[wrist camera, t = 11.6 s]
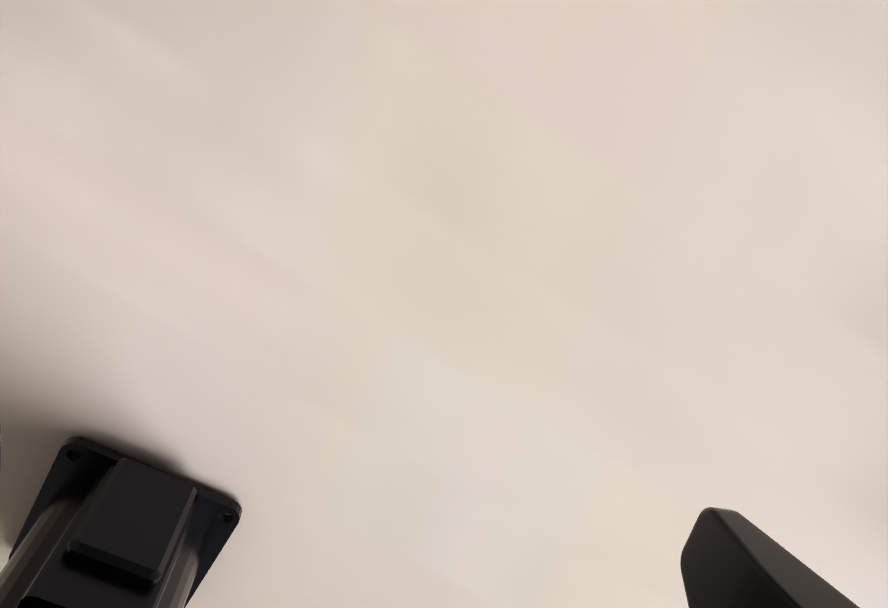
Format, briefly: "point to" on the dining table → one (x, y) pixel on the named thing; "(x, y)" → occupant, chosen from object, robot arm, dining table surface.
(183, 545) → the robot arm
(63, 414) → the dining table surface
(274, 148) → the dining table surface
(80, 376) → the dining table surface
